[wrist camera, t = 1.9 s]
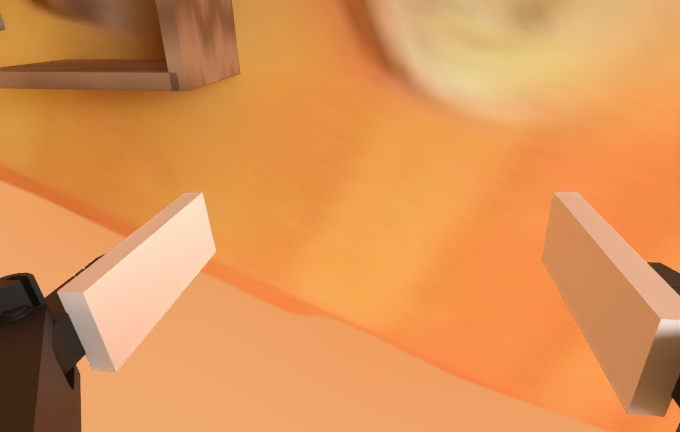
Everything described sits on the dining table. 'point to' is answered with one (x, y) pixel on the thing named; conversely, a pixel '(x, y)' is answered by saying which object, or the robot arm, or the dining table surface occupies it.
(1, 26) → the grey mat
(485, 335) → the dining table surface
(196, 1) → the open box
